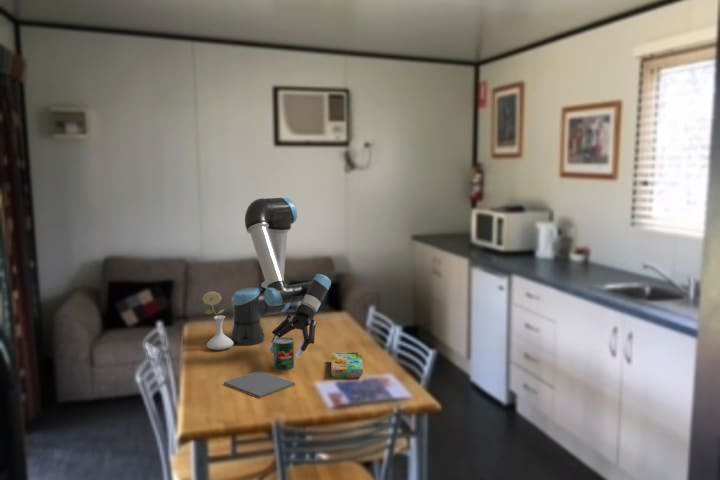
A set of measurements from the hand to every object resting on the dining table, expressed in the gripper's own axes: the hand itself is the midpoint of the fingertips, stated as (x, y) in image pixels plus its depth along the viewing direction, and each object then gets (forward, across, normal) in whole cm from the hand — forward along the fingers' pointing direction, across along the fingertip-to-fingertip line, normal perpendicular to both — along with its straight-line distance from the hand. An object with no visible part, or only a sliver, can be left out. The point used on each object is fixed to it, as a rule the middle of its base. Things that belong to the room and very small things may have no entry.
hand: (283, 354), depth 224 cm
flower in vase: (+1, +42, -7) cm, 42 cm away
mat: (+16, -4, +9) cm, 19 cm away
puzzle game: (-5, -21, -14) cm, 25 cm away
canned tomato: (+4, +1, -5) cm, 6 cm away
